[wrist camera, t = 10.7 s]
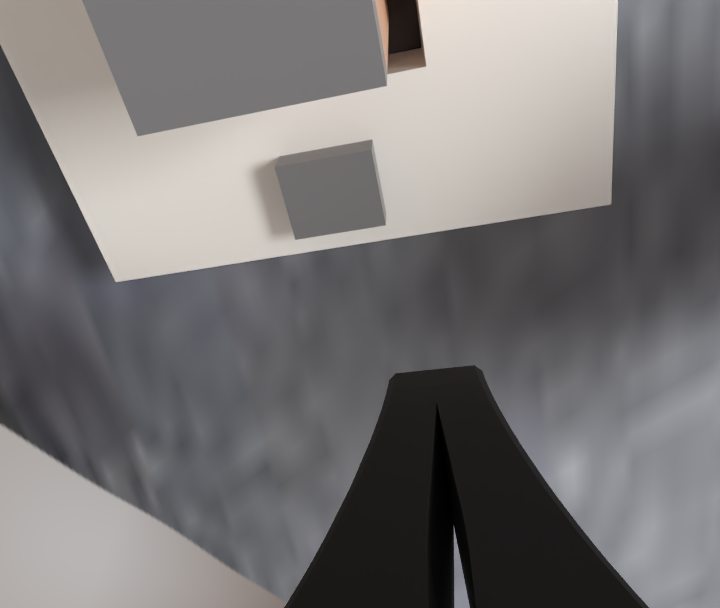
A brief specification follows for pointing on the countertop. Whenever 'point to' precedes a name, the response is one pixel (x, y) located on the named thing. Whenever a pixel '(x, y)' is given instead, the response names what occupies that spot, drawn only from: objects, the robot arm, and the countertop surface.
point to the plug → (237, 55)
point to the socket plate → (335, 139)
